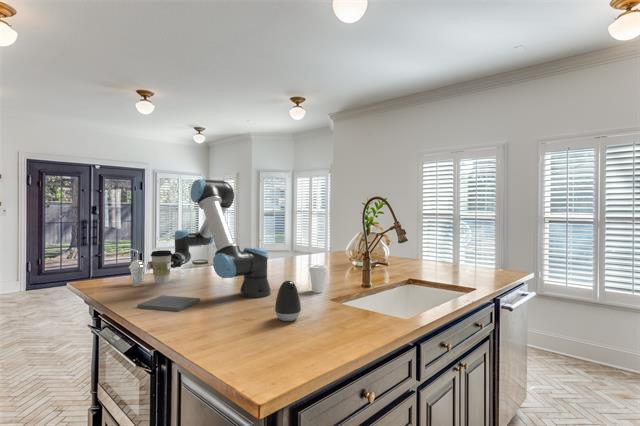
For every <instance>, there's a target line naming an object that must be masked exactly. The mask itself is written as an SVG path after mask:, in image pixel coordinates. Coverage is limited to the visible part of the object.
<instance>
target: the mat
mask: <svg viewBox="0 0 640 426" xmlns="http://www.w3.org/2000/svg"><path fill="white" fill-rule="evenodd" d="M200 302H201V298H200V297H189V296H188V297H187V296H176V295H175V296H174V295H160V296H157V297H153V298H151V299H149V300H145V301H143V302H141V303H138V304H137V308H138V309H145V310H146V309H147V310H156V311H170V312H180V311H183V310H185V309H187V308H190V307H191V306H193V305H195V304H198V303H200Z"/></svg>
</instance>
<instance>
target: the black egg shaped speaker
mask: <svg viewBox="0 0 640 426" xmlns="http://www.w3.org/2000/svg"><path fill="white" fill-rule="evenodd" d="M301 311H302V306H301V298H300V294H299V291H298V288H297V286H296V284H295V283H294V282H293V281H292V280H285V281H283V282H282V283H281V285H280V287H279V289H278V292H277V295H276V298H275V303H274V312H275V315H276V317H277V318H278V319H279V320H280V321H282V322H283V321H284V322H292V321H295V320H297V319H298V318H299V316H300V314H301Z"/></svg>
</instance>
